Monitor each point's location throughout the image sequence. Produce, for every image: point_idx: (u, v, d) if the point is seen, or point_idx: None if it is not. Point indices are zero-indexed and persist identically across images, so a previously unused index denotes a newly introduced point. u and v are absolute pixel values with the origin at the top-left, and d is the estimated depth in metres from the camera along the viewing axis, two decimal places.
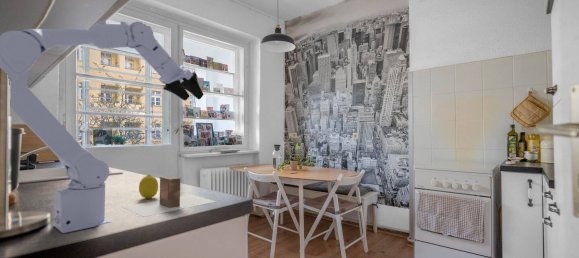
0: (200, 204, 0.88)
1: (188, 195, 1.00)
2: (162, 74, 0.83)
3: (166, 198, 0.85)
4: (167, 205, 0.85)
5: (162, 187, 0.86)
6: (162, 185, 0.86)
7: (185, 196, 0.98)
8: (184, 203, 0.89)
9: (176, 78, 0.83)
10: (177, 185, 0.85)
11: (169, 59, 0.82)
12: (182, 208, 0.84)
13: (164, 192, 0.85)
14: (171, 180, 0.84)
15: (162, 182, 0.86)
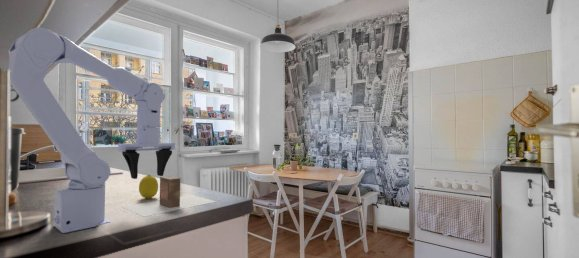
0: (200, 204, 0.88)
1: (188, 195, 1.00)
2: (155, 135, 0.81)
3: (166, 198, 0.85)
4: (167, 205, 0.85)
5: (162, 187, 0.86)
6: (162, 185, 0.86)
7: (185, 196, 0.98)
8: (184, 203, 0.89)
9: (164, 144, 0.84)
10: (177, 185, 0.85)
11: None
12: (182, 208, 0.84)
13: (164, 192, 0.85)
14: (171, 180, 0.84)
15: (162, 182, 0.86)
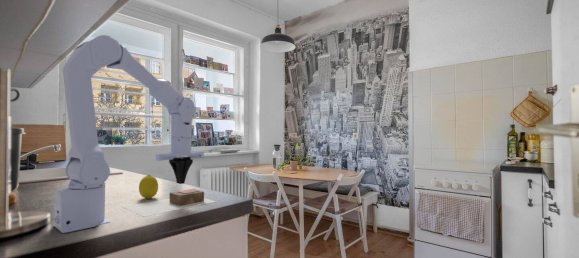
0: (200, 204, 0.88)
1: None
2: (188, 145, 0.88)
3: (184, 192, 0.89)
4: (179, 194, 0.87)
5: (188, 190, 0.93)
6: (190, 190, 0.93)
7: None
8: None
9: (195, 153, 0.91)
10: (198, 199, 0.91)
11: None
12: (182, 208, 0.84)
13: (187, 191, 0.91)
14: (203, 192, 0.92)
15: (192, 189, 0.94)
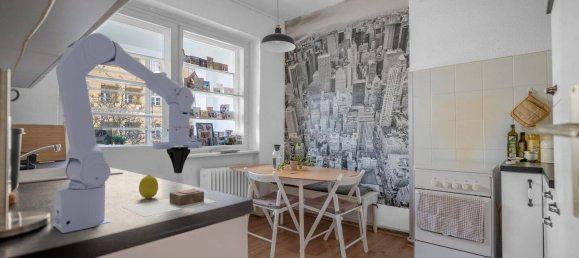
0: (200, 204, 0.88)
1: None
2: (186, 134, 0.88)
3: (184, 192, 0.89)
4: (179, 194, 0.87)
5: (188, 190, 0.93)
6: (190, 190, 0.93)
7: None
8: None
9: (193, 143, 0.91)
10: (198, 199, 0.91)
11: None
12: (182, 208, 0.84)
13: (187, 191, 0.91)
14: (203, 192, 0.92)
15: (192, 189, 0.94)
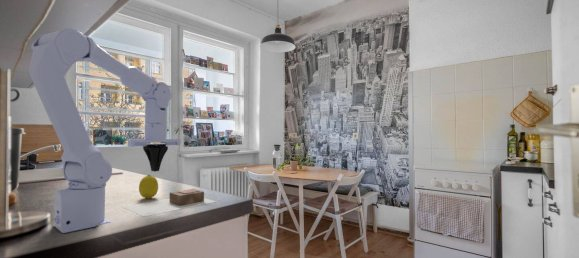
0: (200, 204, 0.88)
1: None
2: (163, 131, 0.85)
3: (184, 192, 0.89)
4: (179, 194, 0.87)
5: (188, 190, 0.93)
6: (190, 190, 0.93)
7: None
8: None
9: (171, 140, 0.88)
10: (198, 199, 0.91)
11: None
12: (182, 208, 0.84)
13: (187, 191, 0.91)
14: (203, 192, 0.92)
15: (192, 189, 0.94)
